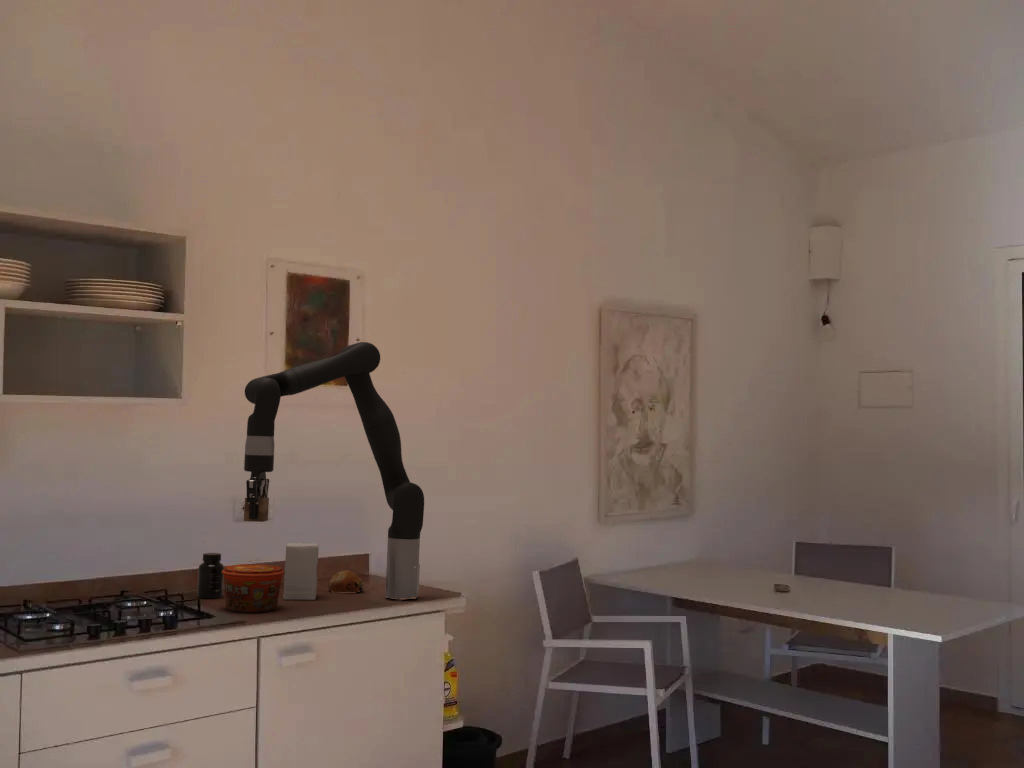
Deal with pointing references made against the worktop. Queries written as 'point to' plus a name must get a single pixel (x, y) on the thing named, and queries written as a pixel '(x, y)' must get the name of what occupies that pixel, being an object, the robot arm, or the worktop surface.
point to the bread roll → (345, 582)
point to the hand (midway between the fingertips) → (256, 518)
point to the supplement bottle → (210, 577)
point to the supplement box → (301, 571)
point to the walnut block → (261, 510)
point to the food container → (252, 587)
